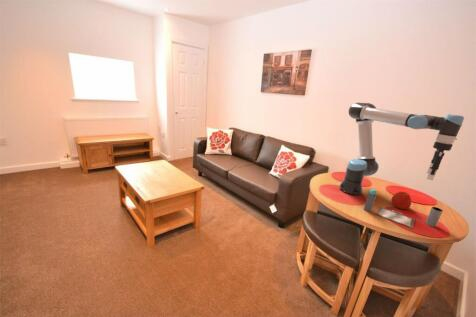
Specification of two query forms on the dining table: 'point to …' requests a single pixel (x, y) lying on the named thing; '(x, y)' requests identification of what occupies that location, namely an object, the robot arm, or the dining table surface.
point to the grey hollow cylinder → (434, 216)
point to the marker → (370, 200)
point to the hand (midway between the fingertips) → (429, 176)
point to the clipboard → (395, 217)
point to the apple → (401, 200)
